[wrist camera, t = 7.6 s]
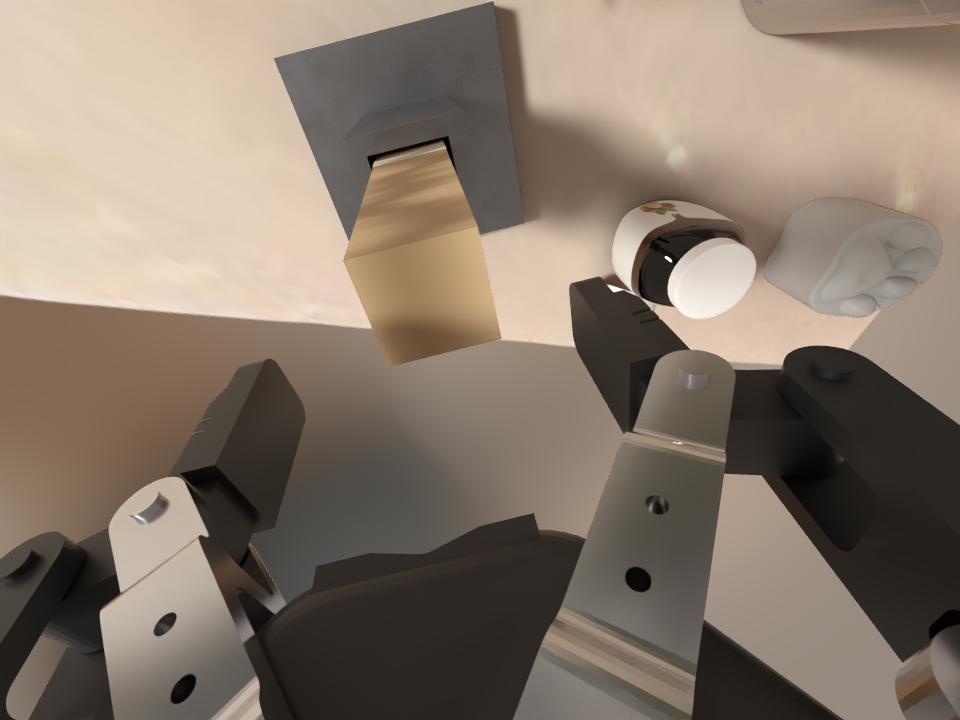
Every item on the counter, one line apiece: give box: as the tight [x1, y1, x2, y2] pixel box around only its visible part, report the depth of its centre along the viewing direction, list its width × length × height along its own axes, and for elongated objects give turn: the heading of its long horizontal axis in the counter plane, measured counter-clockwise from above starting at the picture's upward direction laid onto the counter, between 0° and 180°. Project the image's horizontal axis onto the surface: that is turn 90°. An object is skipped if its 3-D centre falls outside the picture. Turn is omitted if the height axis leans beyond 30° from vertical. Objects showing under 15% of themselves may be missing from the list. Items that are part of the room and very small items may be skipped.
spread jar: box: [607, 200, 756, 319], centre depth 40 cm, size 12×11×12 cm
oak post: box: [343, 138, 501, 367], centre depth 21 cm, size 4×4×20 cm
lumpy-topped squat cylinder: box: [763, 197, 942, 318], centre depth 44 cm, size 10×13×9 cm
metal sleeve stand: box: [274, 1, 524, 241], centre depth 30 cm, size 16×16×14 cm
